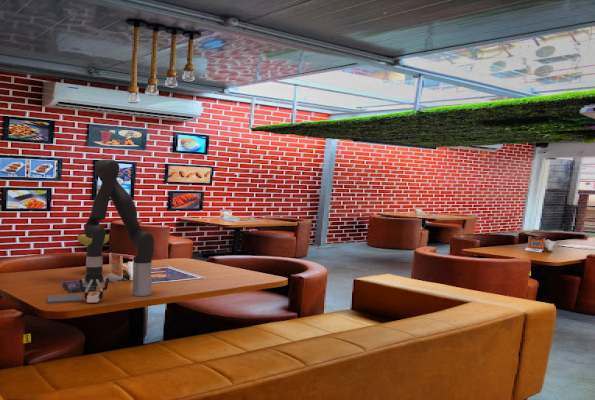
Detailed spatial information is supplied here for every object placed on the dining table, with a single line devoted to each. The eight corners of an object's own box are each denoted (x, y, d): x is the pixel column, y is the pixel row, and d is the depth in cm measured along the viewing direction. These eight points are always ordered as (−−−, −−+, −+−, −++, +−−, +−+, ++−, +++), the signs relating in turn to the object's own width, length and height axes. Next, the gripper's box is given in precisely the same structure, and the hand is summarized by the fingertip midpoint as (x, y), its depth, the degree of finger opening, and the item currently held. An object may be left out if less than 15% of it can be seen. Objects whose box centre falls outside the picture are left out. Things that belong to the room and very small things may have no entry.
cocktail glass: (102, 271, 339) (103, 232, 338) (112, 276, 325) (113, 235, 324) (72, 273, 328) (73, 233, 327) (82, 278, 314) (83, 236, 313)
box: (61, 287, 293) (68, 294, 277) (61, 281, 293) (68, 287, 277) (88, 285, 301) (96, 291, 285) (88, 278, 301) (96, 285, 285)
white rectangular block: (90, 298, 265) (90, 292, 265) (100, 298, 266) (100, 292, 266) (86, 302, 257) (86, 295, 257) (97, 302, 258) (97, 295, 258)
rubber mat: (82, 296, 272) (82, 294, 272) (83, 301, 261) (83, 299, 261) (47, 297, 266) (47, 295, 266) (47, 303, 255) (47, 301, 255)
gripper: (109, 263, 267) (108, 296, 268) (78, 264, 261) (77, 298, 262) (110, 265, 260) (109, 300, 261) (78, 267, 254) (78, 302, 255)
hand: (93, 299), depth 261 cm, fingers closed on white rectangular block, 5 cm apart
